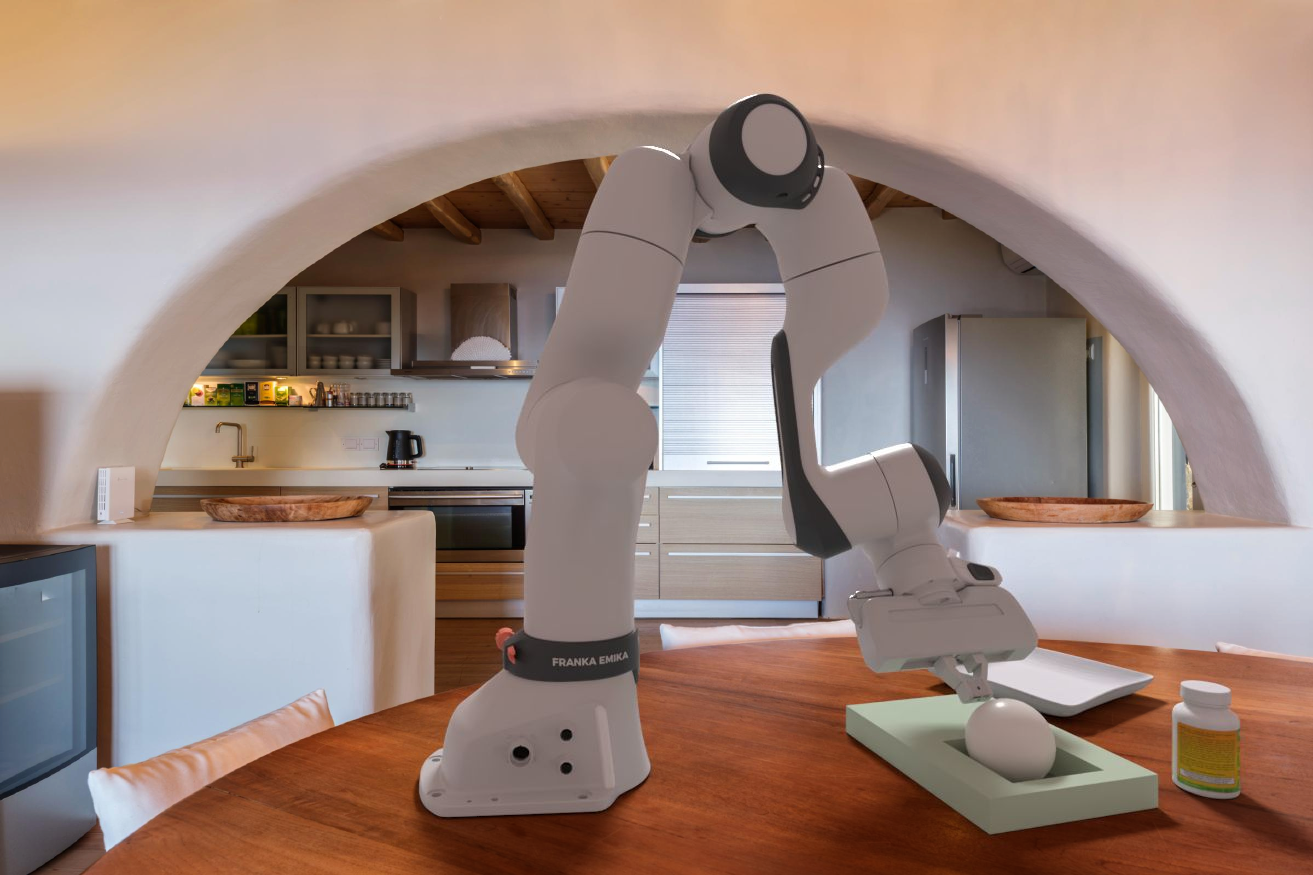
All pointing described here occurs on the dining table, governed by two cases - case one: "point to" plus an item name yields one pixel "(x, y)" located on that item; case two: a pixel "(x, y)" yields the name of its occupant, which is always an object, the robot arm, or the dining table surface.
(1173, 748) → the supplement bottle
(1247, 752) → the dining table surface
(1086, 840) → the dining table surface
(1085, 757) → the putting deck
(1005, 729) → the ball
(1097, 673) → the salad plate
